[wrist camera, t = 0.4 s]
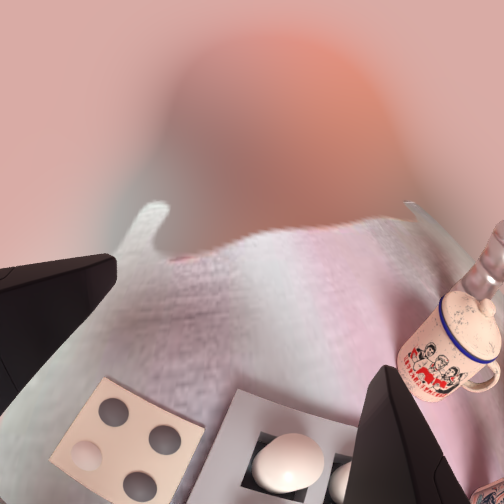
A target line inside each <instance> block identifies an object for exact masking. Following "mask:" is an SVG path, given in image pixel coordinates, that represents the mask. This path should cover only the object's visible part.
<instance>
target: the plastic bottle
mask: <svg viewBox="0 0 504 504" xmlns="http://www.w3.org/2000/svg"><path fill="white" fill-rule="evenodd" d="M503 282H504V220H502V221H501V222H499V223H498V224H497V225H496V227H495V228H494V230H493V233H492V234H491V237H490V239H489V241H488V243H487V245H486V247H485V249H484V250H483V252H482V254H481V255H480V258H479V259H478V260H477V261H476V263H475V264H474V266H473V267H472V268H471V269H470V270H469V271H468V272H467V273H466V275H465V276H464V277H463V278H462V279H460V280H459V281H458V282H457V283H456V284H455V285H454V286H453V287H452V288H451V290H450V291H449V292H452V291H461V292H465V293H467V294H469V295H471V296H473V297H474V298H475V299H477V300H479V301H482V300H483V299H485V298H487V299H489V300H491V299H492V297H493V296H494V295H495V293H496V292H497V290H498V289H499V287H500V286H501V285H502V284H503Z"/></svg>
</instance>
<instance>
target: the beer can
mask: <svg viewBox="0 0 504 504" xmlns="http://www.w3.org/2000/svg"><path fill="white" fill-rule="evenodd" d="M470 503H471V504H504V478H501V479H499V480H497V481H495V482H493V483H490V484H488V485H486V486H483V487H480V488H478V489H477V490H476V491H475V492H474V493H473V494H472V496H471V498H470Z"/></svg>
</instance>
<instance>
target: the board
mask: <svg viewBox="0 0 504 504" xmlns="http://www.w3.org/2000/svg"><path fill="white" fill-rule="evenodd" d="M357 429H358V427H354V426H350V425H346V424H343V423H339V422H335V421H332V420H328V419H325V418H321V417H318V416H315V415H312V414H308V413H305V412H302V411H299V410H296V409H293V408H290V407H287V406H284V405H281V404H278V403H275V402H272V401H270V400H267V399H264V398H261V397H259V396H256V395H253V394H251V393H248V392H246V391H243V390H241V389H237V391H236V393H235V395H234V397H233V399H232V401H231V404H230V406H229V408H228V411H227V413H226V415H225V418H224V420H223V422H222V425H221V427H220V429H219V431H218V434H217V436H216V438H215V440H214V443H213V445H212V447H211V449H210V452H209V454H208V456H207V458H206V461H205V463H204V465H203V467H202V469H201V472H200V474H199V476H198V478H197V480H196V482H195V485H194V487H193V489H192V491H191V493H190V495H189V497H188V499H187V502H186V504H323V501H324V497H325V493H326V489H327V485H328V481H329V477H330V473H331V469H332V465H333V462H335V463H339V464H346V463H348V462H351V461H352V457H353V451H354V445H355V439H356V434H357ZM289 433H297V434H302V435H305V436H307V437H309V438H311V439H313V440H314V441H315V442H316V443H317V444H318V445H319V447H320V448H321V450H322V452H323V455H324V469H323V472H322V474H321V476H320V477H319V478H318V480H317V481H316V482H314V483H313V484H312V485H310V486H308V487H306V488H303V489H299V490H296V493H295V496H294V499H293V501H291V500H287V499H283V498H279V497H275V496H271V495H268V494H264V493H261V492H257V491H254V490H250V489H247V488H244V487H241V486H240V485H241V482H242V480H243V477H244V475H245V472H246V470H247V467H248V464H249V462H250V459H251V456H252V454H253V451H254V448H255V445H256V443H257V441H260V442H263V443H266V444H269V443H271V442H272V441H273V440H274V439H276V438H277V437H279V436H282V435H284V434H289Z"/></svg>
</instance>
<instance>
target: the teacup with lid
mask: <svg viewBox="0 0 504 504" xmlns="http://www.w3.org/2000/svg"><path fill="white" fill-rule="evenodd" d="M495 312H496V308H495V305H494V304H493V302H492V301H491V300H489V299H487V298H485V299H483V300H482V301H479V300H477V299H475V298H474V297H473V296H471V295H469V294H467V293H465V292H461V291H452V292H449V293H447V294H445V295H444V296H443V297H442V298H441V299H440V302H439V305H438V306H437V307H436V309H435V310H434V311H433V312H432V313H431V315H430V316H429V317H428V318H427V319H426V320H425V322H424V323H423V324H422V325H421V326H420V327H419V328H418V329H417V331H416V332H415V333H414V334H413V335H412V336H411V337H410V338H409V339H408V340H407V341H406V343H405V344H404V345H403V346H402V347H401V349H400V351H399V353H398V358H397V365H398V371H399V374H400V375H401V377H402V379H403V381H404V382H405V384H406V386H407V387H408V389H409V391H410V392H411V393H412V394H413V395H415V396H416V397H417V398H419V399H421V400H423V401H427V402H438V401H441V400H443V399H444V398H446V397H447V396H449V395H450V394H451V393H452V392H454V391H455V390H456V389H458V388H459V387H460V386H462V387H463V388H464V389H466V390H468V391H470V392H483V391H486V390H488V389H490V388H492V387H493V386H494V385H495V384H496V383H497V382H498V380H499V377H500V367H499V364H498V363H497V362H496V361H495V359H496V358H497V356H498V354H499V352H500V349H501V335H500V331H499V328H498V326H497V324H496V322H495V319H494V316H493V315H494V314H495ZM485 365H487V366H488V367H489V368H490V369H491V370H492V371H493V373H494V376H493V377H492V378H491V379H490V380H488V381H486V382H483V383H473V382H471V381H470V380H469V379H470V378H471V377H473V376H474V375H475V374H476V373H477V372H478V371H480V370H481V369H482V368H483V367H484V366H485Z"/></svg>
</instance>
